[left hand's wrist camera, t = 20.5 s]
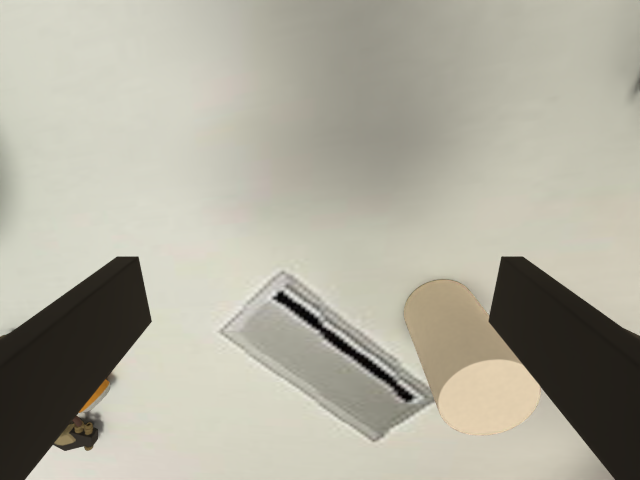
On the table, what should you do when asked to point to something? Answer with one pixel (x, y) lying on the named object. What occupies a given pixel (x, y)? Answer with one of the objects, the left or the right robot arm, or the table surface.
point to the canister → (468, 361)
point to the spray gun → (82, 425)
